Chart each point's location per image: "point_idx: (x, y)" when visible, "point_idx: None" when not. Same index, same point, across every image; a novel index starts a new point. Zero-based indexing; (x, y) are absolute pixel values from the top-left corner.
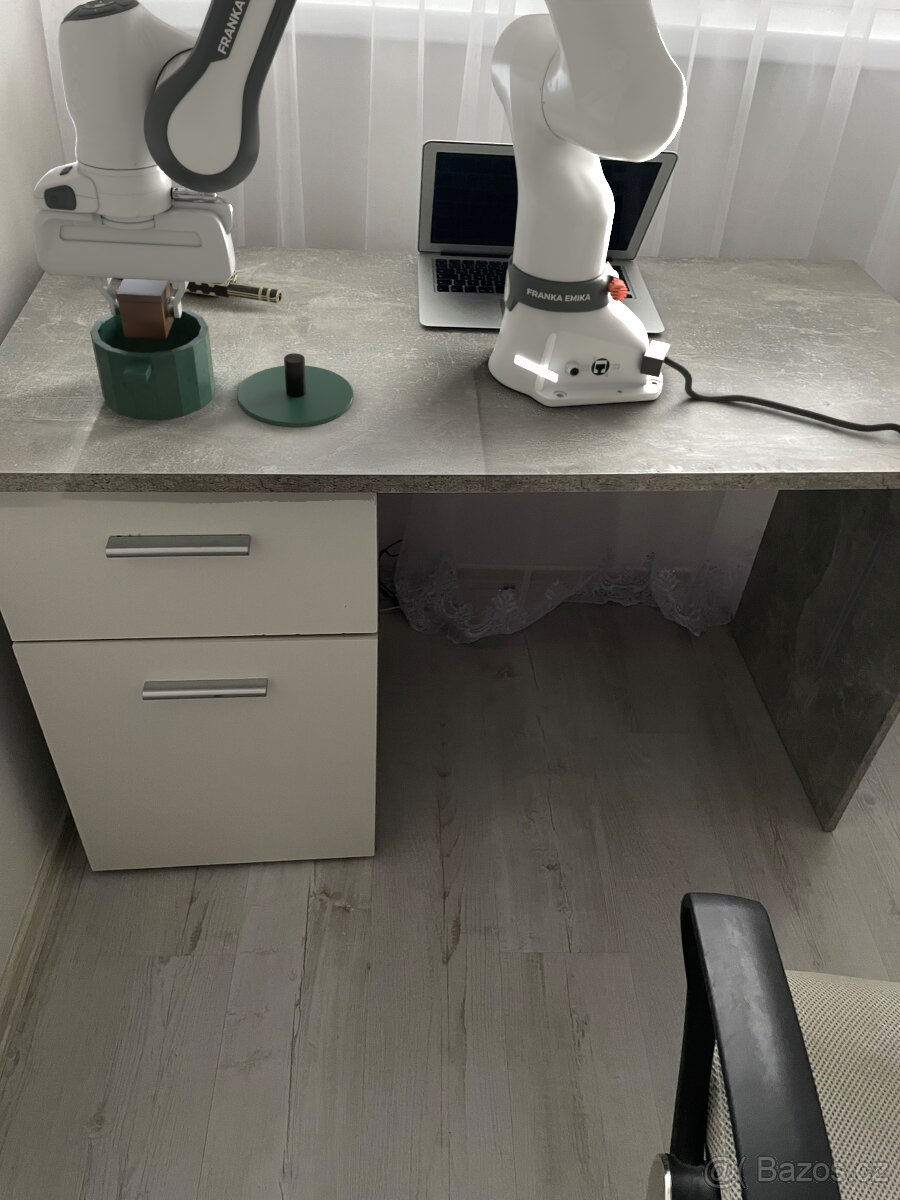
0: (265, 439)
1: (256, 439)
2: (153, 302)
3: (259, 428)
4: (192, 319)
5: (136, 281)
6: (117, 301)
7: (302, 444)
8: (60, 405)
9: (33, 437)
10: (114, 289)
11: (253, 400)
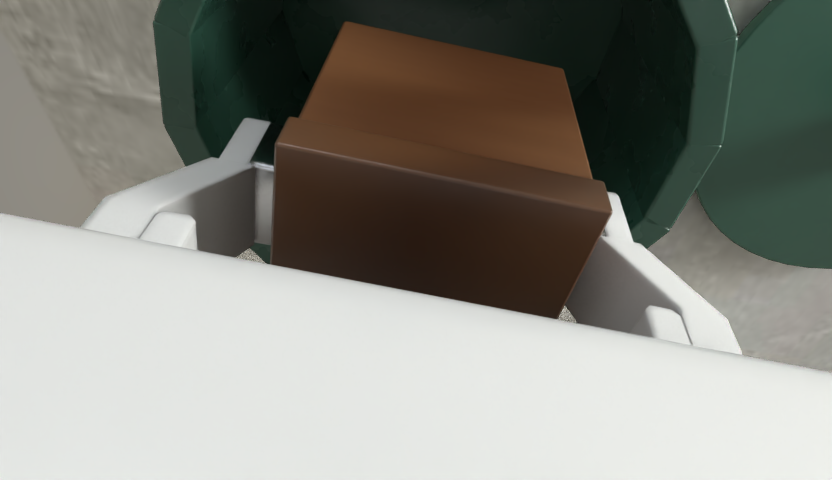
0: (693, 263)
1: (672, 260)
2: None
3: (700, 221)
4: (676, 7)
5: (369, 242)
6: (269, 242)
7: (772, 293)
8: (137, 19)
9: (130, 170)
10: (227, 183)
11: (739, 147)
